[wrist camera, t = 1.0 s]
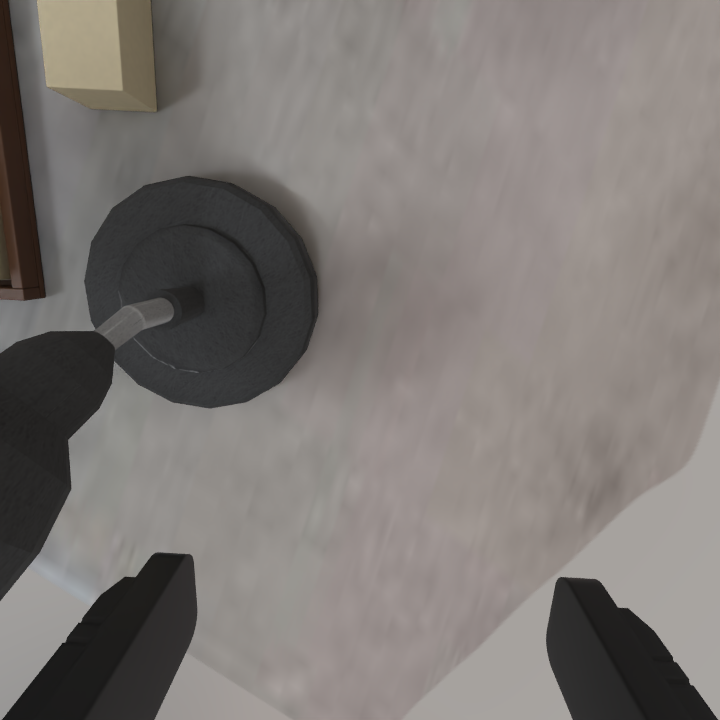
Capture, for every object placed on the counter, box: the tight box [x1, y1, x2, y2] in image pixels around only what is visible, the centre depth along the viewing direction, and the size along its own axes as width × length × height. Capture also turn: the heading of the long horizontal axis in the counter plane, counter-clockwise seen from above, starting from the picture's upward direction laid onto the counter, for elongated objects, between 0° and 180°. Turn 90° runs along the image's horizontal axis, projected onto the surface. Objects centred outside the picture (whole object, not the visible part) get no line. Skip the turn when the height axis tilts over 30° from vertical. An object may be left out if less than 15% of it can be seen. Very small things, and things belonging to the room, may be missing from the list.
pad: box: [37, 0, 157, 112], centre depth 26 cm, size 8×4×4 cm, turn 177°
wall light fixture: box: [0, 176, 318, 601], centre depth 20 cm, size 16×25×20 cm
